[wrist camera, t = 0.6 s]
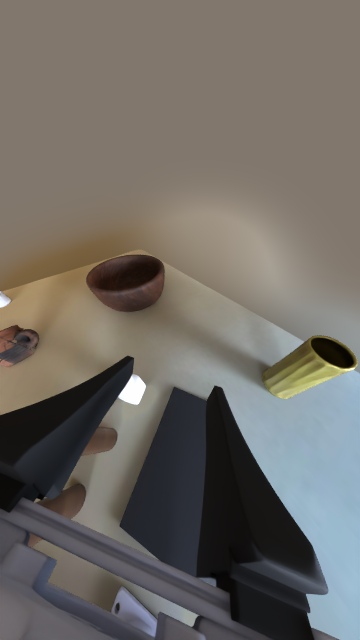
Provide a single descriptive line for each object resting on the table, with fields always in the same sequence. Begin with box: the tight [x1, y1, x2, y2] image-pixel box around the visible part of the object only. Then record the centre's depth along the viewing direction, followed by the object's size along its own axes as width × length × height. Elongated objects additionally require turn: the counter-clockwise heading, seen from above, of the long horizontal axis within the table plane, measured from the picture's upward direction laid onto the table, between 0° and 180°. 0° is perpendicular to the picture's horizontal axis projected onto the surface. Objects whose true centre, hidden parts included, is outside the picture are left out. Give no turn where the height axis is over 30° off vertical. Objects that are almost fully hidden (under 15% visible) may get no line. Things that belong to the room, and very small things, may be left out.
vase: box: [263, 335, 358, 399], centre depth 23 cm, size 6×6×14 cm
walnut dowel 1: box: [28, 484, 86, 547], centre depth 16 cm, size 3×3×9 cm
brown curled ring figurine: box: [0, 325, 39, 367], centre depth 35 cm, size 12×10×8 cm
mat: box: [120, 387, 207, 577], centre depth 21 cm, size 18×11×1 cm, turn 158°
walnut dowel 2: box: [81, 427, 117, 456], centre depth 20 cm, size 3×3×9 cm
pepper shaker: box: [118, 374, 146, 405], centre depth 25 cm, size 4×4×10 cm
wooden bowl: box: [86, 255, 164, 312], centre depth 47 cm, size 25×25×10 cm
